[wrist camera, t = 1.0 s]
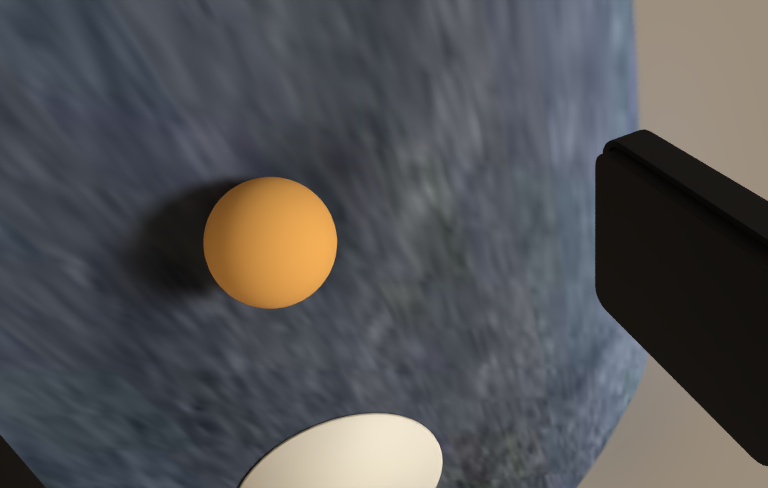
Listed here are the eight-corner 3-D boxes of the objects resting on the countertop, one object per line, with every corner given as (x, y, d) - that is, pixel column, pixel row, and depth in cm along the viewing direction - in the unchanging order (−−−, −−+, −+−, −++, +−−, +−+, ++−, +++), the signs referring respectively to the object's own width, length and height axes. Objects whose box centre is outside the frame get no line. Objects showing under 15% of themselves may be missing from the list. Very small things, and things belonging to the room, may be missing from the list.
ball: (178, 178, 28) (190, 248, 24) (302, 138, 29) (336, 198, 24) (219, 276, 31) (237, 353, 27) (330, 238, 32) (364, 307, 28)
